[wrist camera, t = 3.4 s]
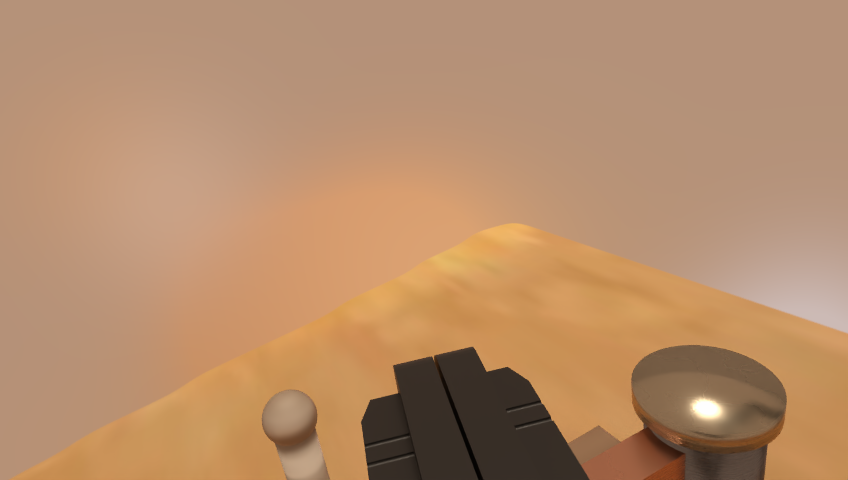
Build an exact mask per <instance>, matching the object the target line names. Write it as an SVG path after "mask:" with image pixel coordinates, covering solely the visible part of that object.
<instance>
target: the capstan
mask: <svg viewBox="0 0 848 480" xmlns="http://www.w3.org/2000/svg"><path fill="white" fill-rule="evenodd" d="M786 402H787V398H786V392H785V389H784V387H783V385H782V383H781V382H780V381H779V379H778V378H777V377H776V376H775V375H774V374H773V373H772V372H771V371H770V370H769V369H767V368H766V367H765V366H763V365H762V364H760V363H758V362H757V361H755V360H753V359H751V358H749V357H747V356H744V355H742V354H739V353H736V352H733V351H729V350H726V349H721V348H717V347H710V346H700V345H684V346H675V347H669V348H665V349H661V350H658V351H656V352H653V353H651V354H649V355H648V356H646V357H644V358H643V359H642V360H641V361H640V362H639V363H638V364H637V365H636V367H635V368H634V370H633V373H632V404H633V407H634V410H635V411H636V413H637V415H638V416H639V418H640V419H641V420H642V422H643V423H644V429H643V430H641V431H640V432H638V433H636V434H634V435H633V436H631V437H629V438H627V439H626V440H624V441H622V442H620V443H619V444H617V445H615V446H613V447H611V448H610V449H608V450H606V451H604V452H603V453H601V454H599V455H597V456H596V457H594V458H592V459H590V460H589V461H587V462H585V463H583V464H582V465H581V466H582V468H583V469H584V471H585V473H586V474H587V476H588V478H589V479H590V480H764V475H765V465H766V455H767V445H768V444H769V443H770V442H771V441H773V440H774V439H775V438H776V437H777V436H778V435H779V434H780V432H781V430H782V428H783V425H784V420H785V411H786Z"/></svg>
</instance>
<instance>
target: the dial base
mask: <svg viewBox="0 0 848 480" xmlns="http://www.w3.org/2000/svg"><path fill="white" fill-rule="evenodd" d="M316 423H317V410H316V406H315V404H314V402H313V401H312V399H311V398H310V397H309V396H308V395H307V394H305V393H303V392H301V391H298V390H285V391H282V392H279V393H277V394H276V395H274V396H273V397H272V398H271V399H270V400H269V401H268V403H267V404H266V406H265V408H264V410H263V414H262V426H263V429H264V432H265V433H266V435H267V437H268V438H269V439H270V440H271V441H273V442H274V443H275V445H276V448H277V451H278V454H279V457H280V460H281V463H282V466H283V469H284V472H285V475H286V478H287V480H330V478H329V474H328V471H327V467H326V464H325V460H324V457H323V453H322V450H321V446H320V443H319V439H318V436H317V432H316V429H315V426H316ZM619 443H620V441H619V440H618V439H616V438H615V437H613V436H612V435H611V434H609V433H608V432H607V431H605V430H604V429H603V428H601V427H600V426H597V427H595V428H594V429H592V430H590V431H589V432H587V433H585V434H583V435H582V436H580V437H578V438H577V439H575V440H573V441H572V442H570V443H568V445H569V447H570V448H571V450H572V452H573V453H574V455H575V456H576V458H577V460H578V461H579V463H580V465H582V464H583V463H585V462H587V461H589V460H590V459H592V458H594V457H596V456H597V455H599V454H601V453H603V452H604V451H606V450H608V449H610V448H611V447H613V446H615V445H617V444H619Z"/></svg>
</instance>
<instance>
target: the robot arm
mask: <svg viewBox="0 0 848 480" xmlns="http://www.w3.org/2000/svg"><path fill="white" fill-rule="evenodd" d="M434 362H435V363H434ZM393 368H394V373H395V379H396V384H397V389H398V394H393V395H389V396H385V397H381V398H377V399H373V400H370V402H369V405H368V407H367V409H366V412H365V414H364V416H363V419H362V421H361V424H362V431H363V438H364V445H365V453H366V461H367V466H368V475H369V480H590V479H589V478H588V476H587V474H586V473H585V471H584V469H583V468H582V466H581V465H580V463H579V461H578V460H577V458H576V456H575V455H574V453H573V452H572V450H571V448H570V447H569V445H568V444H567V442H566V440H565V439H564V437H563V435H562V434H561V432H560V431H559V429H558V427H557V426H556V424H555V423H554V421H552V420H551V416H550V414H549V413H548V411H547V410H546V408H545V406H544V405H543V404H542V403H541V400H540V398H539V397H538V395H537V393H536V392H535V390H534V389H533V387H532V385H531V384H530V382H529V381H528V380H527V379H525V378H524V377H522V376H521V375H519V374H518V373H516V372H515V371H513V370H511V369H510V368H508V367H505V368H501V369H497V370H493V371H488V372H486V370H485V368H484V366H483V364H482V362H481V360H480V358H479V356H478V354H477V352H476V350H475V349H474V347H469V348H465V349H460V350H456V351H452V352H448V353H443V354H439V355H435V356H434V360H433V358H432V356H431V357H427V358H423V359H418V360H414V361H410V362H406V363H401V364H397V365H393Z"/></svg>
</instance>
